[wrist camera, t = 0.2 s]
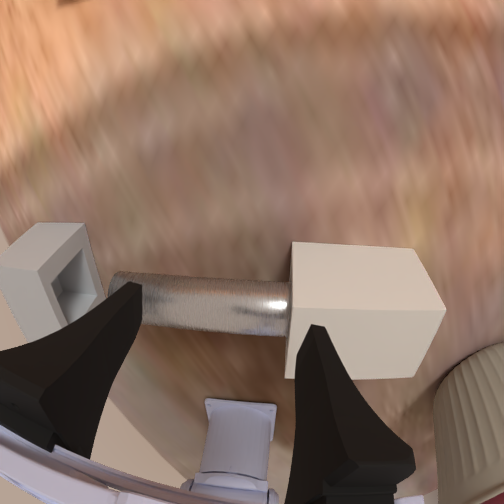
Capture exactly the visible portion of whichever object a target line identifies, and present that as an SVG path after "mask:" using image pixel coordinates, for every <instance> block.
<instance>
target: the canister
mask: <svg viewBox="0 0 504 504" xmlns="http://www.w3.org/2000/svg"><path fill="white" fill-rule="evenodd" d="M433 420H434V432H435V447H436V461H437V476H438V504H504V342H501V343H500V344H498V343H496V344H494V345H492V346H488V347H487V348H484V349H482V350H480V351H478V352H475V353H474V354H473V355H472V356H469V357H468V358H467V359H466V360H464V361H462V362H461V363H460V364H459V365H458V366H456V367H455V368H454V369H453V370H452V371H451V372H449V374H448V376H446V377H445V378H444V380H443V382H442V383H441V384H440V386H439V388H438V390H437V392H436V395H435V398H434V404H433Z"/></svg>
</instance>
